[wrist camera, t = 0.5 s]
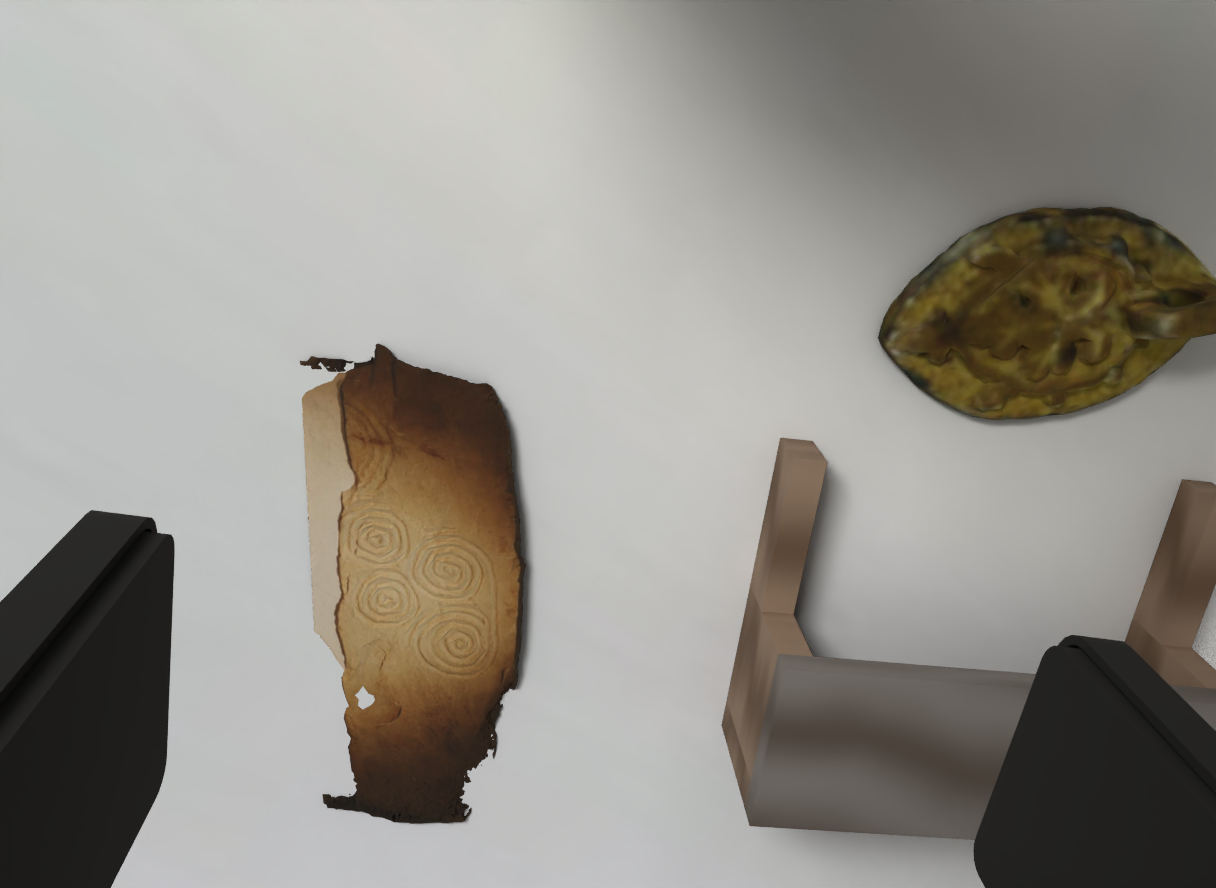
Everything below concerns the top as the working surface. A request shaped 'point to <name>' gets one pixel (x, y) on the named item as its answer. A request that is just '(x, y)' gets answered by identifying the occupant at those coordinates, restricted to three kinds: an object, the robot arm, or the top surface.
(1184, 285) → the mottled yellow-brown oval piece
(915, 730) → the wooden step block
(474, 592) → the parchment
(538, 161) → the top surface
